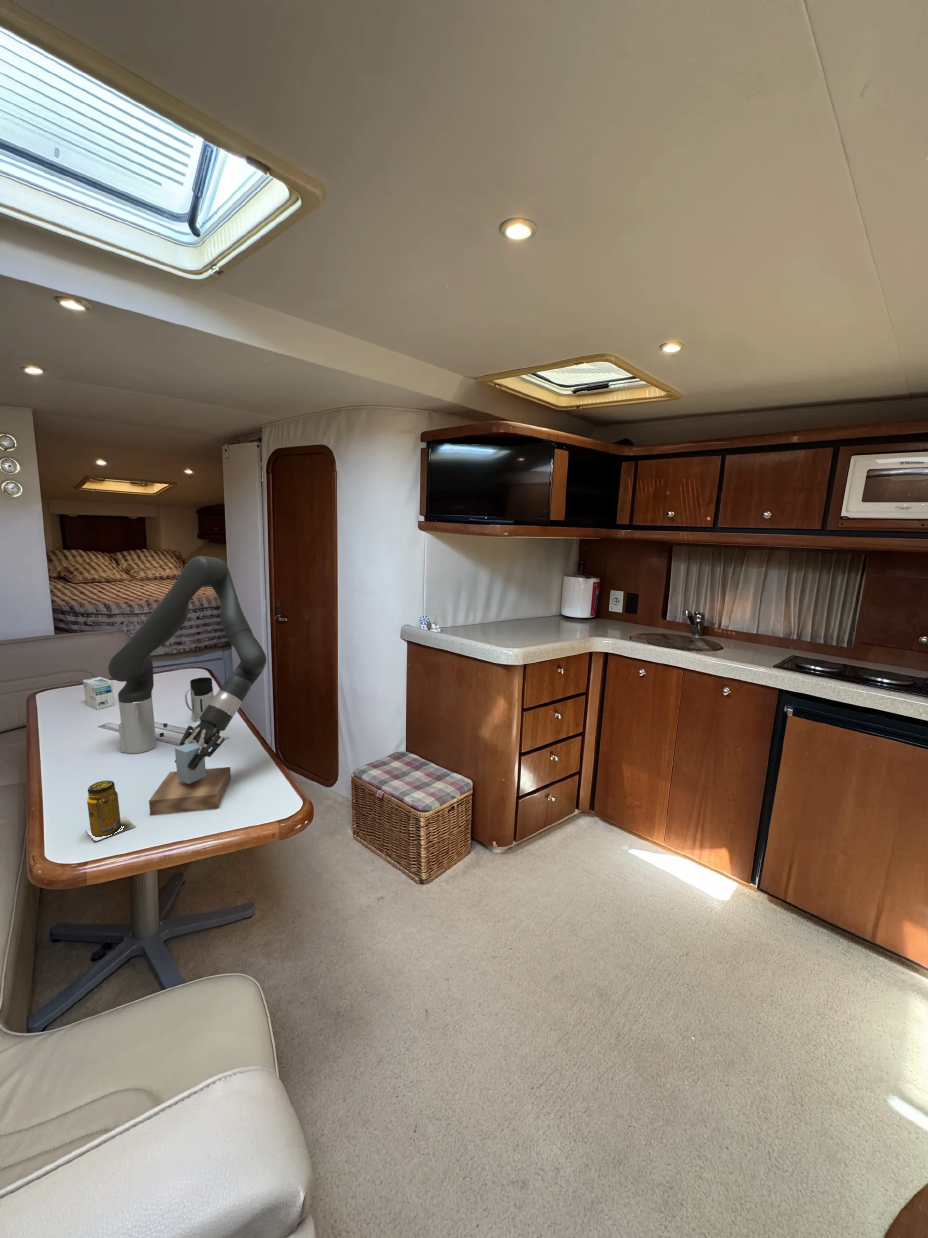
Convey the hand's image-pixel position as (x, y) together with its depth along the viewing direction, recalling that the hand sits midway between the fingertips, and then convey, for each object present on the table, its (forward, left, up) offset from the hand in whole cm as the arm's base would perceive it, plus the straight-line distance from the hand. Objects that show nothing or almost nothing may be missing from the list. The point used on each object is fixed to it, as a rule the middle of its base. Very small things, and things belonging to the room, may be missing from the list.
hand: (184, 766), depth 137 cm
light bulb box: (-57, +87, -10) cm, 105 cm away
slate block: (+1, +1, -4) cm, 5 cm away
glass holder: (-13, +62, -10) cm, 64 cm away
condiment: (-14, -12, -10) cm, 21 cm away
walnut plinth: (+1, +1, -10) cm, 10 cm away
